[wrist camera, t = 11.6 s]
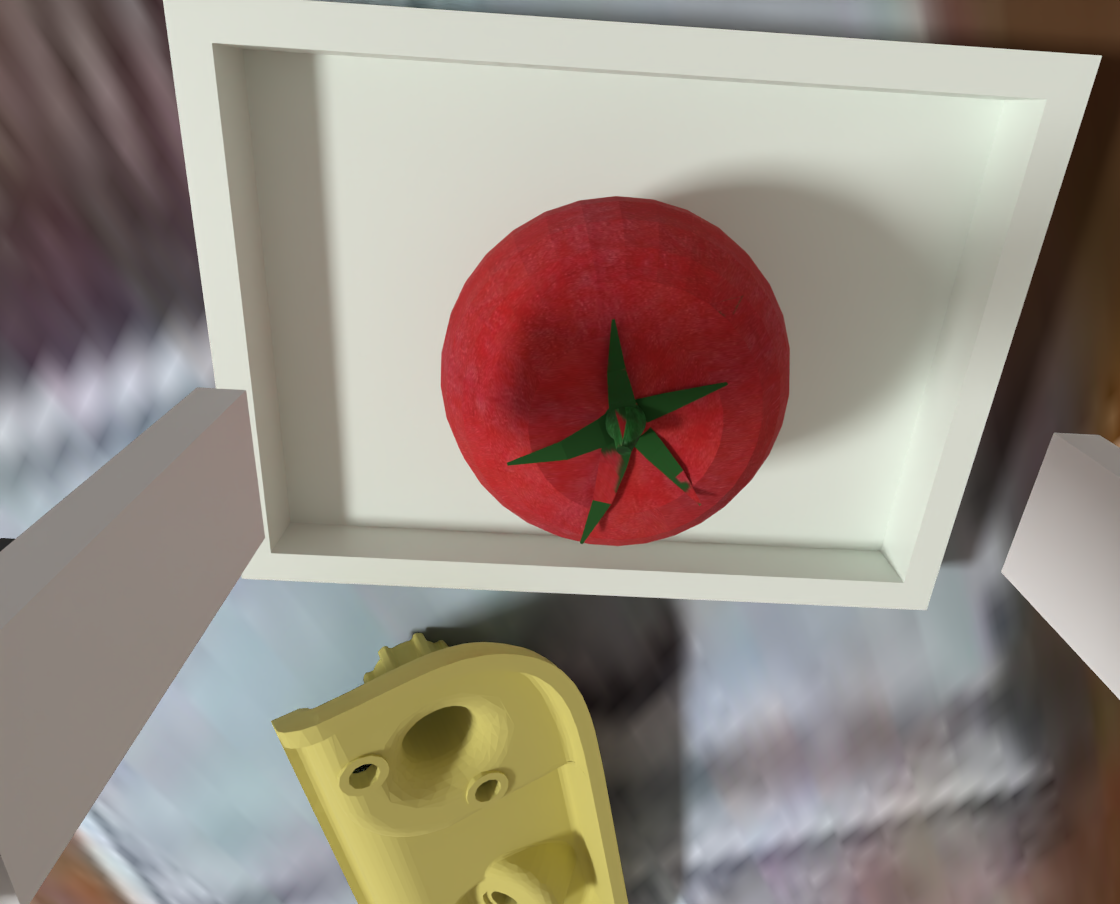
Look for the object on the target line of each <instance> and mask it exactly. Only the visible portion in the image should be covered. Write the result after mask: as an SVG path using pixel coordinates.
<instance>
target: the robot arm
mask: <svg viewBox="0 0 1120 904" xmlns="http://www.w3.org/2000/svg"><path fill="white" fill-rule="evenodd" d="M264 539H265V533H264V525H263V517H262V509H261V502H260V494H259V486H258V478H257V471H256V463H255V455H254V447H253V440H252V432H251V424H250V416H249V409H248V401H247V393H246V390H235V389H216V388H196V389H195V390H194V391H192V392H191V393H190V394H189V395H188V396H186V397H185V398H184V399H183V400H182V401H180V402H179V403H178V404H177V405H176V406H174V407H173V408H172V409H171V410H170V411H168V412H167V413H166V414H165V415H164V416H162V417H161V418H160V419H159V420H158V421H156V422H155V423H154V424H153V425H152V426H150V427H149V428H148V429H147V430H146V431H144V432H143V433H142V434H141V435H140V436H138V437H137V438H136V439H135V440H134V441H132V442H131V443H130V444H129V445H128V446H126V447H125V448H124V449H123V450H122V451H120V452H119V453H118V454H117V455H116V456H114V457H113V458H112V459H111V460H110V461H108V462H107V463H106V464H105V465H104V466H102V467H101V468H100V469H99V470H98V471H96V472H95V473H94V474H93V475H92V476H90V477H89V478H88V479H87V480H86V481H84V482H83V483H82V484H81V485H80V486H78V487H77V488H76V489H75V490H74V491H72V492H71V493H70V494H69V495H68V496H66V497H65V498H64V499H63V500H62V501H60V502H59V503H58V504H57V505H56V506H54V507H53V508H52V509H51V510H50V511H48V512H47V513H46V514H45V515H44V516H42V517H41V518H40V519H39V520H38V521H36V522H35V523H34V524H33V525H32V526H30V527H29V528H28V529H27V530H26V531H24V532H23V533H22V534H21V535H20V536H18V537H17V538H16V539H8V538H1V539H0V904H29V903H30V902H31V900H32V899H33V897H34V896H35V894H36V892H37V891H38V889H39V888H40V886H41V885H42V883H43V882H44V880H45V879H46V877H47V875H48V874H49V872H50V871H51V869H52V868H53V866H54V865H55V863H56V861H57V860H58V858H59V857H60V855H61V854H62V852H63V851H64V849H65V848H66V846H67V844H68V843H69V841H70V840H71V838H72V837H73V835H74V834H75V832H76V830H77V829H78V827H79V826H80V824H81V823H82V821H83V820H84V818H85V816H86V815H87V813H88V812H89V810H90V809H91V807H92V806H93V804H94V803H95V801H96V799H97V798H98V796H99V795H100V793H101V792H102V790H103V789H104V787H105V785H106V784H107V782H108V781H109V779H110V778H111V776H112V775H113V773H114V772H115V770H116V768H117V767H118V765H119V764H120V762H121V761H122V759H123V758H124V756H125V754H126V753H127V751H128V750H129V748H130V747H131V745H132V744H133V742H134V740H135V739H136V737H137V736H138V734H139V733H140V731H141V730H142V728H143V727H144V725H145V723H146V722H147V720H148V719H149V717H150V716H151V714H152V713H153V711H154V709H155V708H156V706H157V705H158V703H159V702H160V700H161V699H162V697H163V696H164V694H165V692H166V691H167V689H168V688H169V686H170V685H171V683H172V682H173V680H174V678H175V677H176V675H177V674H178V672H179V671H180V669H181V668H182V666H183V664H184V663H185V661H186V660H187V658H188V657H189V655H190V654H191V652H192V651H193V649H194V647H195V646H196V644H197V643H198V641H199V640H200V638H201V637H202V635H203V633H204V632H205V630H206V629H207V627H208V626H209V624H210V623H211V621H212V620H213V618H214V616H215V615H216V613H217V612H218V610H219V609H220V607H221V606H222V604H223V602H224V601H225V599H226V598H227V596H228V595H229V593H230V592H231V590H232V588H233V587H234V585H235V584H236V582H237V581H238V579H239V578H240V576H241V575H242V573H243V571H244V570H245V568H246V567H247V565H248V564H249V562H250V561H251V559H252V557H253V556H254V554H255V553H256V551H257V550H258V548H259V547H260V545H261V544H262V542H263V540H264ZM1001 572H1002V573H1003V574H1004V576H1005V577H1006V578H1007V579H1008V580H1009V581H1010V582H1011V583H1012V584H1013V585H1014V586H1015V587H1016V588H1017V590H1018V591H1019V592H1020V593H1021V594H1022V595H1023V596H1024V597H1025V598H1026V599H1027V600H1028V601H1029V602H1030V604H1031V605H1032V606H1033V607H1034V608H1035V609H1036V610H1037V611H1038V612H1039V613H1040V614H1041V615H1042V616H1043V618H1044V619H1045V620H1046V621H1047V622H1048V623H1049V624H1050V625H1051V626H1052V627H1053V628H1054V629H1055V630H1056V632H1057V633H1058V634H1059V635H1060V636H1061V637H1062V638H1063V639H1064V640H1065V641H1066V642H1067V643H1068V644H1069V646H1070V647H1071V648H1072V649H1073V650H1074V651H1075V652H1076V653H1077V654H1078V655H1079V656H1080V657H1081V658H1082V660H1083V661H1084V662H1085V663H1086V664H1087V665H1088V666H1089V667H1090V668H1091V669H1092V670H1093V671H1094V672H1095V674H1096V675H1097V676H1098V677H1099V678H1100V679H1101V680H1102V681H1103V682H1104V683H1105V684H1106V685H1107V686H1108V688H1109V689H1110V690H1111V691H1112V692H1113V693H1114V694H1115V695H1116V696H1117V697H1118V698H1119V699H1120V448H1119V447H1117V446H1116V445H1114V444H1113V443H1111V442H1109V441H1108V440H1106V439H1105V438H1103V437H1101V436H1100V435H1087V434H1068V433H1054V434H1053V437H1052V439H1051V442H1050V444H1049V447H1048V450H1047V452H1046V455H1045V458H1044V460H1043V463H1042V466H1041V468H1040V471H1039V474H1038V476H1037V479H1036V482H1035V484H1034V487H1033V489H1032V492H1031V495H1030V497H1029V500H1028V503H1027V505H1026V508H1025V511H1024V513H1023V516H1022V519H1021V521H1020V524H1019V526H1018V529H1017V532H1016V534H1015V537H1014V540H1013V542H1012V545H1011V548H1010V550H1009V553H1008V556H1007V558H1006V561H1005V564H1004V566H1003V569H1002V571H1001Z"/></svg>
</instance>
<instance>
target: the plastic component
mask: <svg viewBox="0 0 1120 904" xmlns="http://www.w3.org/2000/svg"><path fill="white" fill-rule="evenodd" d="M378 654H379V656H380V660H379V661H378V663H377V664H376V666H375V668H374V670H373V671H371V672H368V673H366V674H365V675H364V684H363V685H361V686H359V687H357V688H355V689H353V690H351V691H349V692H347V693H345V694H343V695H341V696H339V697H337V698H335V699H333V700H331V701H328V702H326V703H324V704H322V705H320V706H318V707H316V708H313V709H308V708H302V709H297V710H295V711H293V712H291V713H288V714H286V715H284V716H281V717H279V718H277V719H274V720H272V721H271V722H272V725H273V727H274V729H275V731H276V733H277V736H278V738H279V740H280V742H281V744H282V746H283V748H284V750H285V752H286V755H287V757H288V759H289V761H290V763H291V765H292V767H293V769H294V771H295V773H296V776H297V778H298V780H299V782H300V784H301V786H302V788H303V790H304V792H305V794H306V796H307V798H308V801H309V803H310V805H311V807H312V809H313V811H314V813H315V815H316V817H317V819H318V821H319V823H320V826H321V828H322V830H323V832H324V834H325V836H326V838H327V840H328V842H329V844H330V846H331V848H332V850H333V853H334V855H335V857H336V859H337V861H338V863H339V865H340V867H341V869H342V871H343V873H344V875H345V877H346V880H347V882H348V884H349V886H350V888H351V890H352V892H353V894H354V896H355V898H356V900H357V902H358V904H628V899H627V894H626V888H625V883H624V878H623V872H622V867H621V861H620V856H619V851H618V845H617V840H616V834H615V829H614V824H613V818H612V813H611V807H610V802H609V797H608V791H607V786H606V780H605V775H604V770H603V764H602V760H601V755H600V751H599V746H598V742H597V737H596V733H595V729H594V726H593V723H592V719H591V716H590V713H589V711H588V708H587V706H586V703H585V701H584V698H583V696H582V695H581V693H580V692H579V690H578V688H577V687H576V685H575V684H574V682H573V681H572V680H571V679H570V678H569V677H568V676H567V675H566V674H565V673H564V672H563V671H562V670H560V669H559V668H558V667H557V666H556V665H555V664H553V663H552V662H551V661H549V660H548V659H546V658H545V657H543V656H541V655H540V654H538V653H536V652H534V651H532V650H529V649H526V648H523V647H519V646H514V645H509V644H504V643H494V642H472V643H465V644H460V645H456V646H452V647H449V646H448V645H447V644H446V643H445V642H444V641H443V640H439V641H438V642H436V643H433V642H430V641H426V639H425V637H424V635H423V634H422V633H415V634H414V635H413V637H412V639H411V640H410V641H407V642H404V643H401V644H399V645H397V646H395V647H393V648H388V647H387V646H384V647H382V648H381V649H380V650H379V652H378ZM364 764H372V765H371V766H370V767H369V768H367V769H366V770H365V771H362V772H360V773H352V772H353V771H354V770H355V769H356V768H358V767H360V766H362V765H364Z"/></svg>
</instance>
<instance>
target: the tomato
mask: <svg viewBox="0 0 1120 904" xmlns="http://www.w3.org/2000/svg"><path fill="white" fill-rule="evenodd" d="M789 378H790V347H789V342H788V337H787V332H786V326H785V321H784V316H783V313H782V311H781V309H780V307H779V304H778V302H777V300H776V297H775V295H774V293H773V290H772V288H771V286H770V284H769V282H768V281H767V280H766V278H765V277H764V275H763V274H762V273H761V271H760V270H759V269H758V267H757V266H756V264H755V263H754V262H753V260H752V259H751V257H750V256H749V255H748V254H747V253H746V252H745V250H743V249H742V248H741V247H740V246H739V245H738V244H737V243H736V242H734V241H733V240H732V239H731V238H730V237H729V236H728V235H727V234H725V233H724V232H723V231H722V230H721V229H720V228H719V227H717V226H715V225H713V224H712V223H710V222H708V221H706V220H705V219H703V218H701V217H699V216H697V215H696V214H694V213H692V212H690V211H689V210H686V209H683V208H680V207H676V206H673V205H670V204H667V203H663V202H660V201H657V200H654V199H644V198H633V197H622V196H612V197H604V198H595V199H587V200H579V201H576V202H573V203H570V204H567V205H564V206H561V207H558V208H555V209H552V210H549V211H546V212H544V213H542V214H540V215H539V216H537V217H535V218H533V219H532V220H530V221H528V222H526V223H525V224H523V225H521V226H520V227H518V228H516V229H514V230H513V231H512V232H510V233H509V234H508V235H507V236H506V237H505V238H504V239H503V240H501V241H500V242H499V243H498V244H497V245H496V246H495V247H494V248H492V249H491V250H490V251H489V252H488V253H487V254H486V255H485V256H484V258H483V259H482V260H481V262H480V263H479V264H478V266H477V267H476V268H475V270H474V271H473V272H472V274H471V275H470V276H469V278H468V279H467V280H466V282H465V284H464V286H463V288H462V290H461V292H460V294H459V297H458V299H457V301H456V303H455V305H454V307H453V309H452V312H451V314H450V318H449V323H448V327H447V331H446V335H445V340H444V344H443V348H442V352H441V391H442V396H443V402H444V407H445V413H446V418H447V420H448V423H449V425H450V428H451V430H452V433H453V435H454V437H455V440H456V442H457V445H458V447H459V449H460V451H461V453H462V455H463V457H464V459H465V461H466V462H467V464H468V465H469V467H470V468H471V470H472V471H473V473H474V474H475V476H476V477H477V479H478V480H479V482H480V483H481V485H482V486H483V487H484V488H485V489H486V490H487V491H488V492H489V493H490V494H491V495H492V496H493V497H494V498H495V499H496V500H497V501H498V502H499V503H500V504H501V505H502V506H504V507H505V508H507V509H508V510H510V511H511V512H512V513H514V514H515V515H517V516H518V517H520V518H521V519H523V520H524V521H526V522H527V523H529V524H531V525H534V526H536V527H538V528H540V529H543V530H545V531H547V532H549V533H552V534H554V535H556V536H559V537H562V538H567V539H571V540H575V541H579V542H580V544H583V543H587V544H595V545H609V546H624V545H634V544H644V543H649V542H653V541H657V540H660V539H664V538H668V537H671V536H675V535H677V534H679V533H681V532H683V531H686V530H688V529H690V528H692V527H694V526H696V525H698V524H701V523H702V522H704V521H705V520H706V519H708V518H709V517H711V516H712V515H714V514H715V513H716V512H718V511H719V510H721V509H722V508H724V507H725V506H726V505H727V504H728V503H729V502H730V501H731V500H732V499H733V498H734V497H735V496H736V495H737V494H738V493H739V492H740V491H741V490H742V489H743V488H744V487H745V486H746V485H747V484H748V483H749V482H750V481H751V480H752V479H753V477H754V476H755V474H756V473H757V472H758V470H759V469H760V467H761V466H762V464H763V463H764V461H765V460H766V459H767V457H768V456H769V454H770V452H771V450H772V447H773V445H774V443H775V441H776V438H777V436H778V434H779V432H780V429H781V427H782V424H783V420H784V416H785V411H786V407H787V402H788V398H789Z"/></svg>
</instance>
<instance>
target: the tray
mask: <svg viewBox="0 0 1120 904" xmlns="http://www.w3.org/2000/svg"><path fill="white" fill-rule="evenodd" d="M163 3H164V11H165V18H166V25H167V33H168V40H169V47H170V55H171V62H172V69H173V77H174V84H175V91H176V99H177V106H178V113H179V121H180V128H181V135H182V143H183V150H184V157H185V165H186V172H187V179H188V187H189V194H190V201H191V209H192V216H193V223H194V231H195V238H196V245H197V253H198V260H199V267H200V274H201V282H202V289H203V296H204V304H205V311H206V318H207V326H208V333H209V340H210V348H211V355H212V362H213V370H214V377H215V384H216V389H235V390H246V393H247V401H248V409H249V416H250V424H251V432H252V440H253V447H254V455H255V463H256V471H257V478H258V486H259V494H260V502H261V509H262V517H263V525H264V533H265V539H264V540H263V542H262V544H261V545H260V547H259V548H258V550H257V551H256V553H255V554H254V556H253V557H252V559H251V561H250V562H249V564H248V565H247V567H246V568H245V570H244V571H243V573H242V579H259V580H281V581H303V582H324V583H346V584H368V585H390V586H412V587H433V588H455V589H477V590H499V591H521V592H542V593H564V594H586V595H608V596H629V597H651V598H673V599H695V600H717V601H738V602H760V603H782V604H804V605H826V606H847V607H869V608H891V609H913V610H927V607H928V604H929V600H930V597H931V594H932V591H933V588H934V585H935V582H936V578H937V575H938V572H939V569H940V566H941V563H942V559H943V556H944V553H945V550H946V547H947V544H948V541H949V537H950V534H951V531H952V528H953V525H954V522H955V518H956V515H957V512H958V509H959V506H960V503H961V499H962V496H963V493H964V490H965V487H966V484H967V481H968V477H969V474H970V471H971V468H972V465H973V462H974V458H975V455H976V452H977V449H978V446H979V443H980V440H981V436H982V433H983V430H984V427H985V424H986V421H987V417H988V414H989V411H990V408H991V405H992V402H993V399H994V395H995V392H996V389H997V386H998V383H999V380H1000V376H1001V373H1002V370H1003V367H1004V364H1005V361H1006V358H1007V354H1008V351H1009V348H1010V345H1011V342H1012V339H1013V335H1014V332H1015V329H1016V326H1017V323H1018V320H1019V316H1020V313H1021V310H1022V307H1023V304H1024V301H1025V298H1026V294H1027V291H1028V288H1029V285H1030V282H1031V279H1032V275H1033V272H1034V269H1035V266H1036V263H1037V260H1038V257H1039V253H1040V250H1041V247H1042V244H1043V241H1044V238H1045V234H1046V231H1047V228H1048V225H1049V222H1050V219H1051V216H1052V212H1053V209H1054V206H1055V203H1056V200H1057V197H1058V193H1059V190H1060V187H1061V184H1062V181H1063V178H1064V175H1065V171H1066V168H1067V165H1068V162H1069V159H1070V156H1071V152H1072V149H1073V146H1074V143H1075V140H1076V137H1077V133H1078V130H1079V127H1080V124H1081V121H1082V118H1083V115H1084V111H1085V108H1086V105H1087V102H1088V99H1089V96H1090V92H1091V89H1092V86H1093V83H1094V80H1095V77H1096V74H1097V70H1098V67H1099V64H1100V61H1101V58H1102V56H1100V55H1086V54H1071V53H1057V52H1043V51H1028V50H1014V49H1000V48H985V47H971V46H956V45H942V44H928V43H913V42H899V41H884V40H870V39H856V38H841V37H827V36H813V35H798V34H784V33H769V32H755V31H741V30H726V29H712V28H698V27H683V26H669V25H654V24H640V23H626V22H611V21H597V20H583V19H568V18H554V17H539V16H525V15H511V14H496V13H482V12H467V11H453V10H439V9H424V8H410V7H396V6H381V5H367V4H352V3H338V2H324V1H309V0H163ZM612 196H622V197H633V198H644V199H654V200H657V201H660V202H663V203H667V204H670V205H673V206H676V207H680V208H683V209H686V210H689V211H690V212H692V213H694V214H696V215H697V216H699V217H701V218H703V219H705V220H706V221H708V222H710V223H712V224H713V225H715V226H717V227H719V228H720V229H721V230H722V231H723V232H724V233H725V234H727V235H728V236H729V237H730V238H731V239H732V240H733V241H734V242H736V243H737V244H738V245H739V246H740V247H741V248H742V249H743V250H745V252H746V253H747V254H748V255H749V256H750V257H751V259H752V260H753V262H754V263H755V264H756V266H757V267H758V269H759V270H760V271H761V273H762V274H763V275H764V277H765V278H766V280H767V281H768V282H769V284H770V286H771V288H772V290H773V293H774V295H775V297H776V300H777V302H778V304H779V307H780V309H781V311H782V313H783V316H784V321H785V326H786V332H787V337H788V342H789V347H790V378H789V398H788V402H787V407H786V411H785V416H784V420H783V424H782V427H781V429H780V432H779V434H778V436H777V438H776V441H775V443H774V445H773V447H772V450H771V452H770V454H769V456H768V457H767V459H766V460H765V461H764V463H763V464H762V466H761V467H760V469H759V470H758V472H757V473H756V474H755V476H754V477H753V479H752V480H751V481H750V482H749V483H748V484H747V485H746V486H745V487H744V488H743V489H742V490H741V491H740V492H739V493H738V494H737V495H736V496H735V497H734V498H733V499H732V500H731V501H730V502H729V503H728V504H727V505H726V506H725V507H724V508H722V509H721V510H719V511H718V512H716V513H715V514H714V515H712V516H711V517H709V518H708V519H706V520H705V521H704V522H702V523H701V524H698V525H696V526H694V527H692V528H690V529H688V530H686V531H683V532H681V533H679V534H677V535H675V536H671V537H668V538H664V539H660V540H657V541H653V542H649V543H644V544H634V545H624V546H609V545H595V544H587V543H583V544H580V542H579V541H575V540H571V539H567V538H562V537H559V536H556V535H554V534H552V533H549V532H547V531H545V530H543V529H540V528H538V527H536V526H534V525H531V524H529V523H527V522H526V521H524V520H523V519H521V518H520V517H518V516H517V515H515V514H514V513H512V512H511V511H510V510H508V509H507V508H505V507H504V506H502V505H501V504H500V503H499V502H498V501H497V500H496V499H495V498H494V497H493V496H492V495H491V494H490V493H489V492H488V491H487V490H486V489H485V488H484V487H483V486H482V485H481V483H480V482H479V480H478V479H477V477H476V476H475V474H474V473H473V471H472V470H471V468H470V467H469V465H468V464H467V462H466V461H465V459H464V457H463V455H462V453H461V451H460V449H459V447H458V445H457V442H456V440H455V437H454V435H453V433H452V430H451V428H450V425H449V423H448V420H447V418H446V413H445V407H444V402H443V396H442V391H441V352H442V348H443V344H444V340H445V335H446V331H447V327H448V323H449V318H450V314H451V312H452V309H453V307H454V305H455V303H456V301H457V299H458V297H459V294H460V292H461V290H462V288H463V286H464V284H465V282H466V280H467V279H468V278H469V276H470V275H471V274H472V272H473V271H474V270H475V268H476V267H477V266H478V264H479V263H480V262H481V260H482V259H483V258H484V256H485V255H486V254H487V253H488V252H489V251H490V250H491V249H492V248H494V247H495V246H496V245H497V244H498V243H499V242H500V241H501V240H503V239H504V238H505V237H506V236H507V235H508V234H509V233H510V232H512V231H513V230H514V229H516V228H518V227H520V226H521V225H523V224H525V223H526V222H528V221H530V220H532V219H533V218H535V217H537V216H539V215H540V214H542V213H544V212H546V211H549V210H552V209H555V208H558V207H561V206H564V205H567V204H570V203H573V202H576V201H579V200H587V199H595V198H604V197H612Z"/></svg>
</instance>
